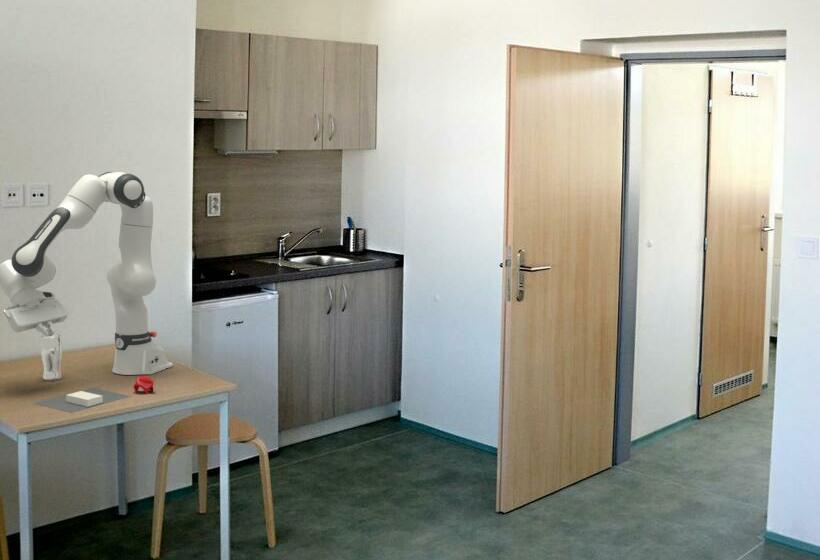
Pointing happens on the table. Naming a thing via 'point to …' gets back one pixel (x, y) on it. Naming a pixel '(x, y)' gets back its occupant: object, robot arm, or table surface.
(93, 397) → the tile
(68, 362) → the table surface
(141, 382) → the red rounded piece
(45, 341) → the beer glass
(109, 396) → the mat
